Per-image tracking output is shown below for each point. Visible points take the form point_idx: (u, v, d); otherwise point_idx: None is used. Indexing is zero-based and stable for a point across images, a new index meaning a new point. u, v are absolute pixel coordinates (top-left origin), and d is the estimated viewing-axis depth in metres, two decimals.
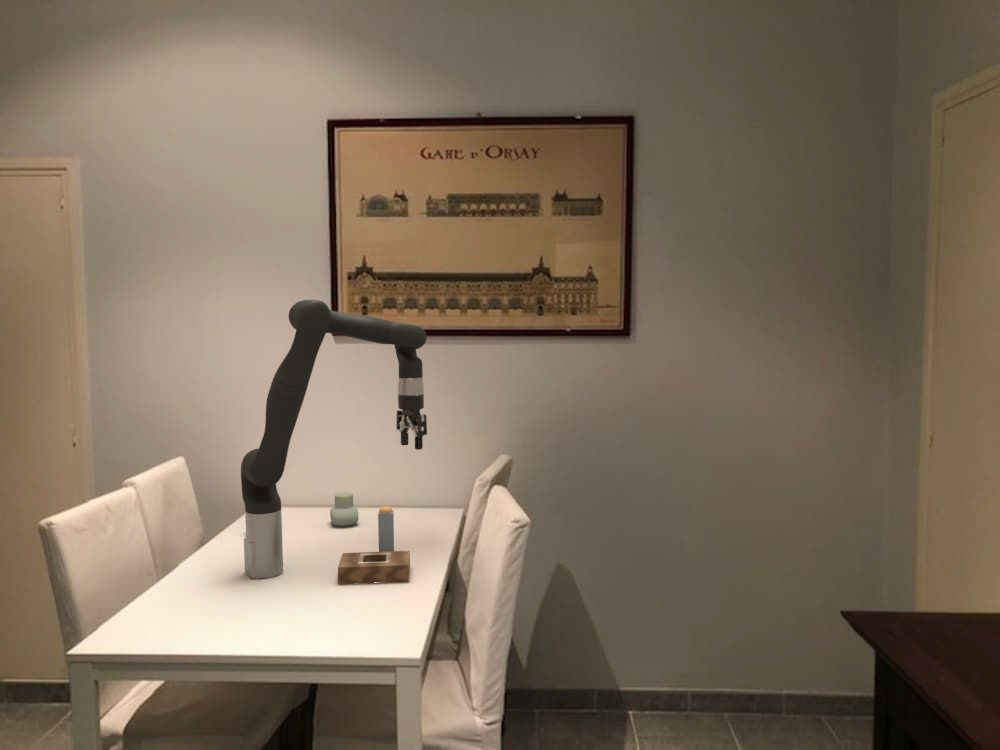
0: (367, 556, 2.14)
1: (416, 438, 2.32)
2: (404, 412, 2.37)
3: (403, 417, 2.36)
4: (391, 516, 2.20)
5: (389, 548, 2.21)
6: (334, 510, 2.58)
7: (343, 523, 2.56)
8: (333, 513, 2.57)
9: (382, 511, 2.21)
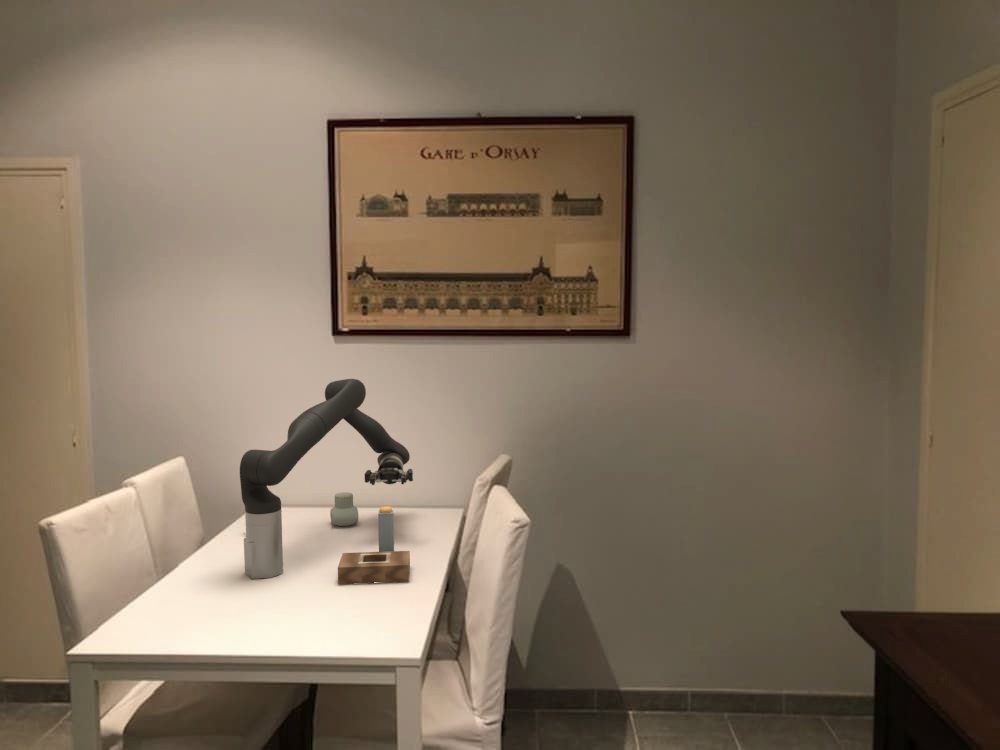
0: (367, 556, 2.14)
1: (404, 475, 2.36)
2: None
3: (385, 468, 2.41)
4: (391, 516, 2.20)
5: (389, 548, 2.21)
6: (334, 510, 2.58)
7: (343, 523, 2.56)
8: (333, 513, 2.57)
9: (382, 511, 2.21)
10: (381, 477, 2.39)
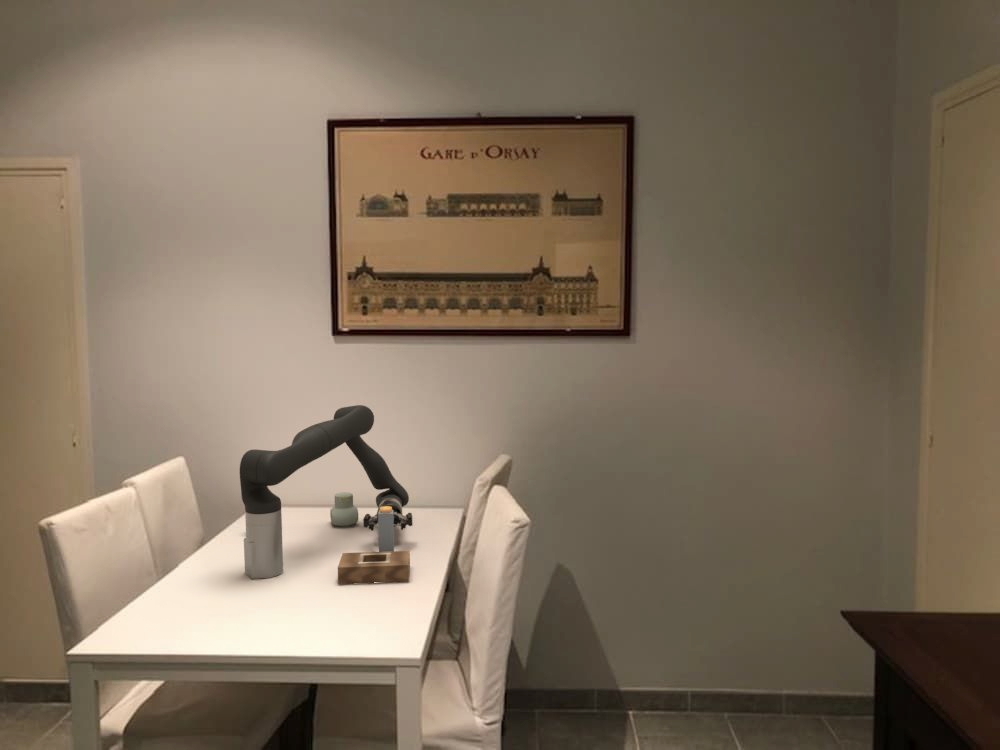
0: (367, 556, 2.14)
1: (403, 520, 2.33)
2: None
3: None
4: (391, 516, 2.20)
5: (389, 548, 2.21)
6: (334, 510, 2.58)
7: (343, 523, 2.56)
8: (333, 513, 2.57)
9: (382, 511, 2.21)
10: None
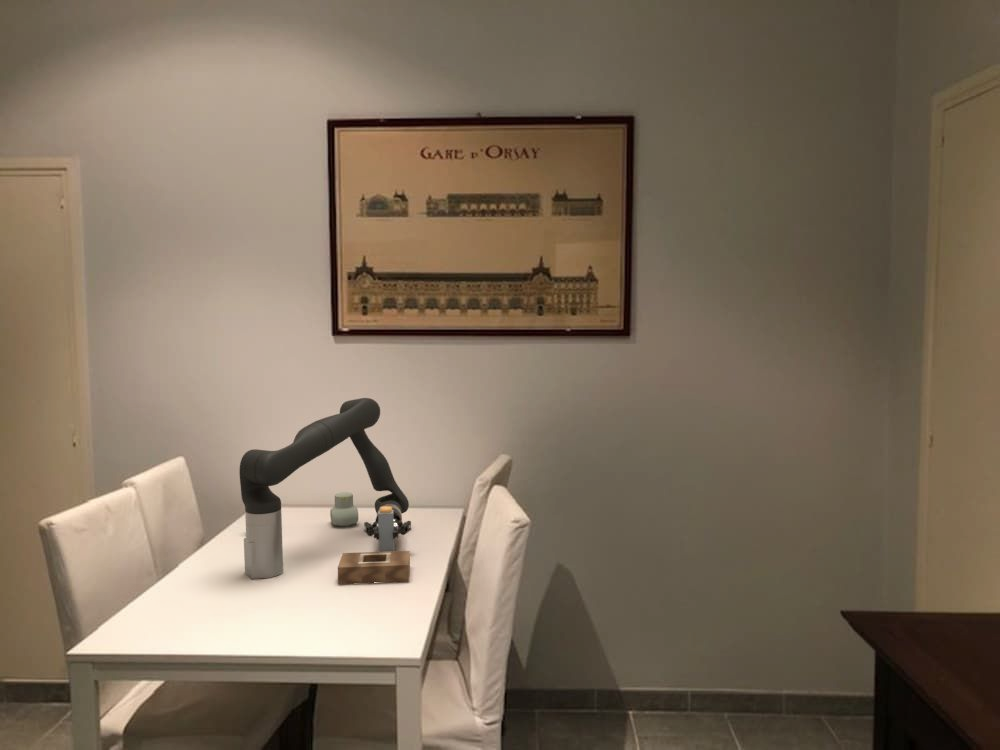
0: (367, 556, 2.14)
1: (395, 528, 2.23)
2: None
3: None
4: (391, 516, 2.20)
5: (389, 548, 2.21)
6: (334, 510, 2.58)
7: (343, 523, 2.56)
8: (333, 513, 2.57)
9: (382, 511, 2.21)
10: None
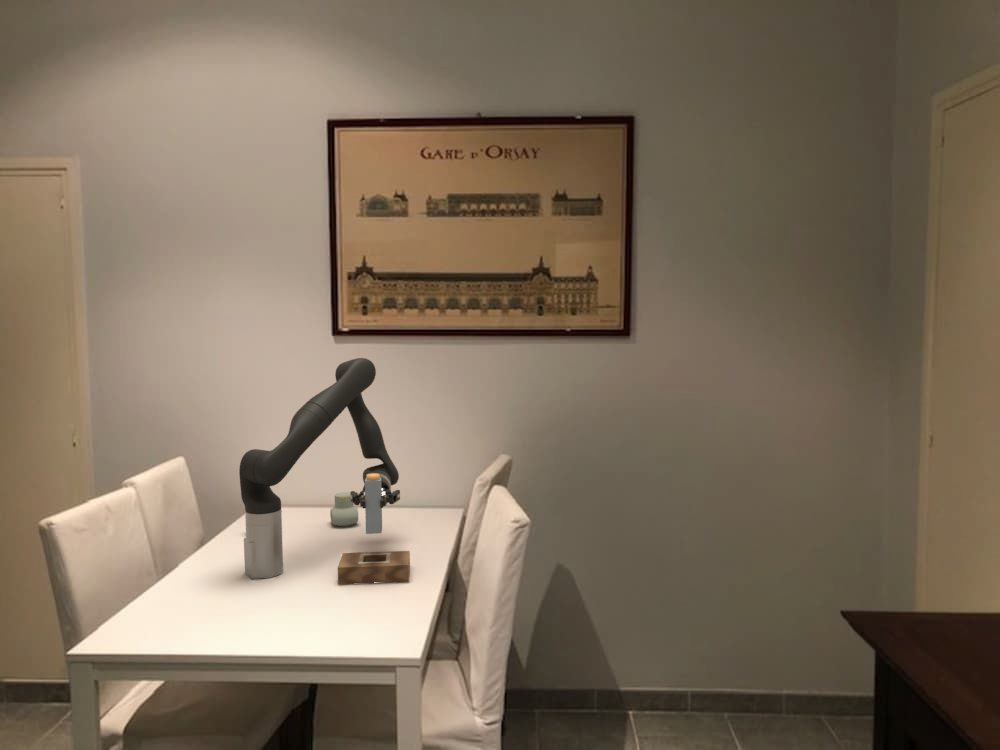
0: (367, 556, 2.14)
1: (383, 497, 2.10)
2: None
3: None
4: (379, 483, 2.08)
5: (376, 517, 2.08)
6: (334, 510, 2.58)
7: (343, 523, 2.56)
8: (333, 513, 2.57)
9: (369, 478, 2.08)
10: None
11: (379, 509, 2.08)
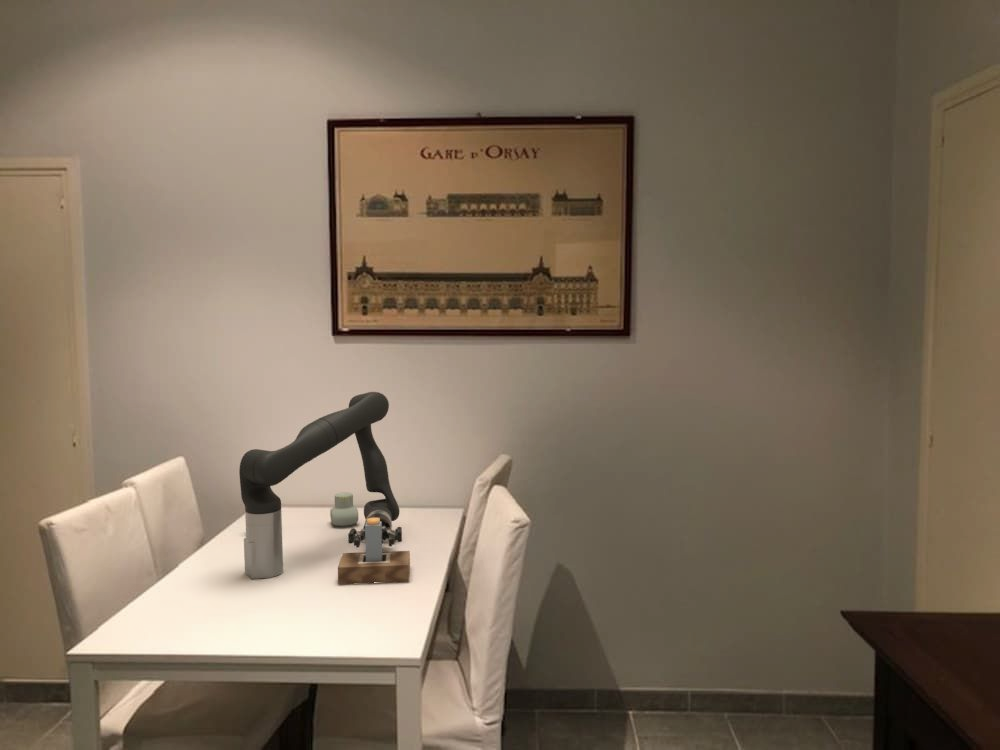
0: None
1: (392, 535, 2.12)
2: None
3: None
4: (379, 528, 2.08)
5: None
6: (334, 510, 2.58)
7: (343, 523, 2.56)
8: (333, 513, 2.57)
9: (369, 523, 2.09)
10: None
11: (379, 554, 2.09)
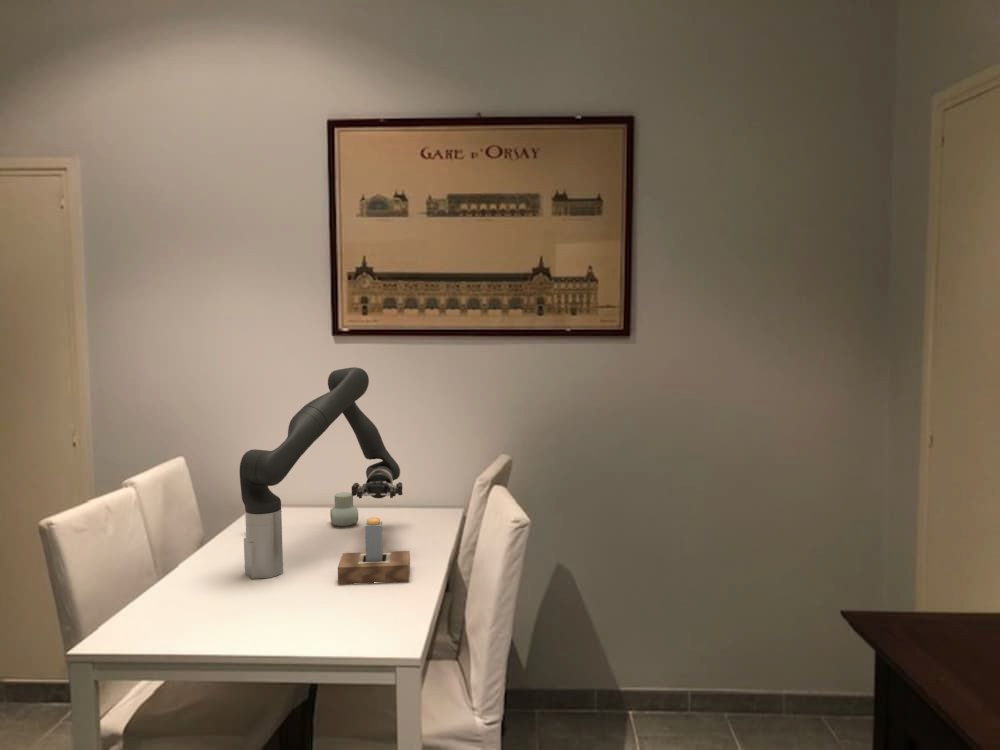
0: None
1: (393, 488, 2.24)
2: None
3: (373, 481, 2.29)
4: (379, 528, 2.08)
5: None
6: (334, 510, 2.58)
7: (343, 523, 2.56)
8: (333, 513, 2.57)
9: (369, 523, 2.09)
10: (369, 490, 2.27)
11: (379, 554, 2.09)
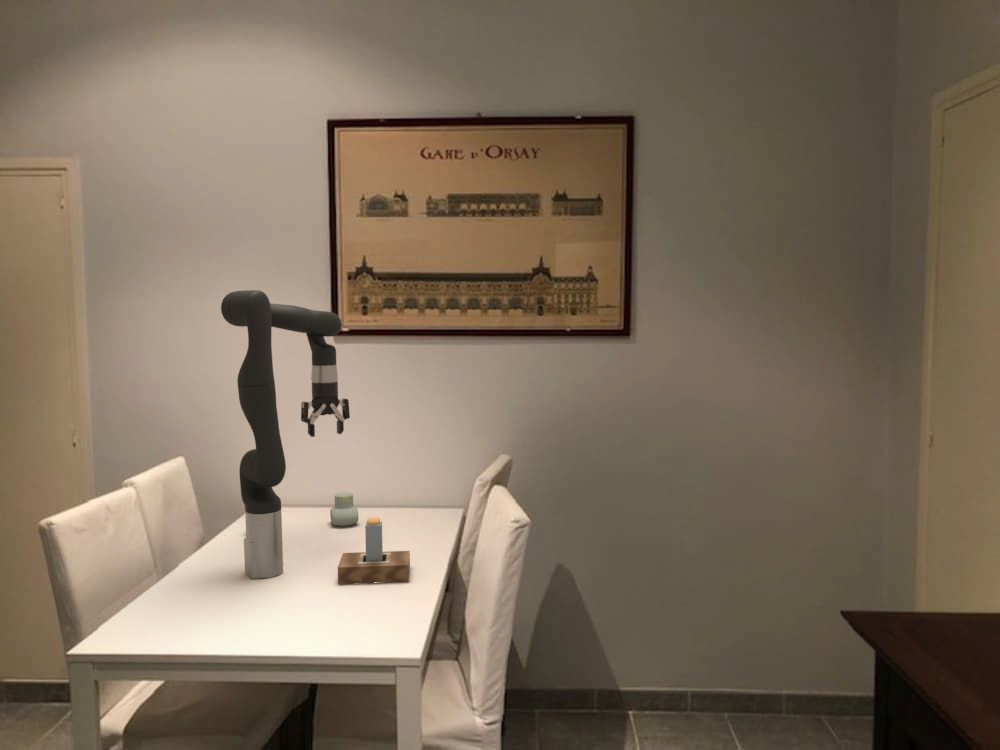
0: None
1: (341, 422, 2.38)
2: (319, 401, 2.33)
3: (323, 406, 2.33)
4: (379, 528, 2.08)
5: None
6: (334, 510, 2.58)
7: (343, 523, 2.56)
8: (333, 513, 2.57)
9: (370, 523, 2.09)
10: None
11: (379, 554, 2.09)
